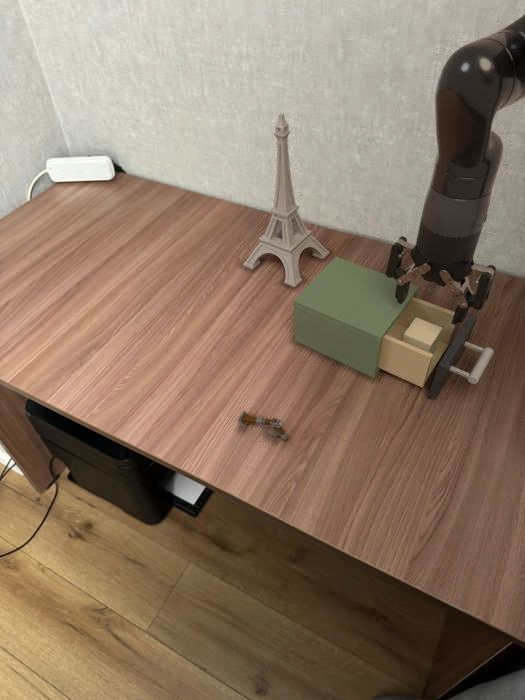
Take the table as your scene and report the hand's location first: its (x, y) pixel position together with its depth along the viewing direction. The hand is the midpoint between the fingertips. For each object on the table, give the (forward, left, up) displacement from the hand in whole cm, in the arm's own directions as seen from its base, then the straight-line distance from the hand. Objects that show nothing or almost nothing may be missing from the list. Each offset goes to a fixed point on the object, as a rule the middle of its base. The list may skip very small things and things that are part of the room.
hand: (428, 310), depth 73 cm
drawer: (-1, 0, -11) cm, 11 cm away
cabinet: (+11, -4, -12) cm, 17 cm away
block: (0, 0, -10) cm, 10 cm away
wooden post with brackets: (+21, +19, -12) cm, 31 cm away
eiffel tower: (+28, -23, -12) cm, 38 cm away
